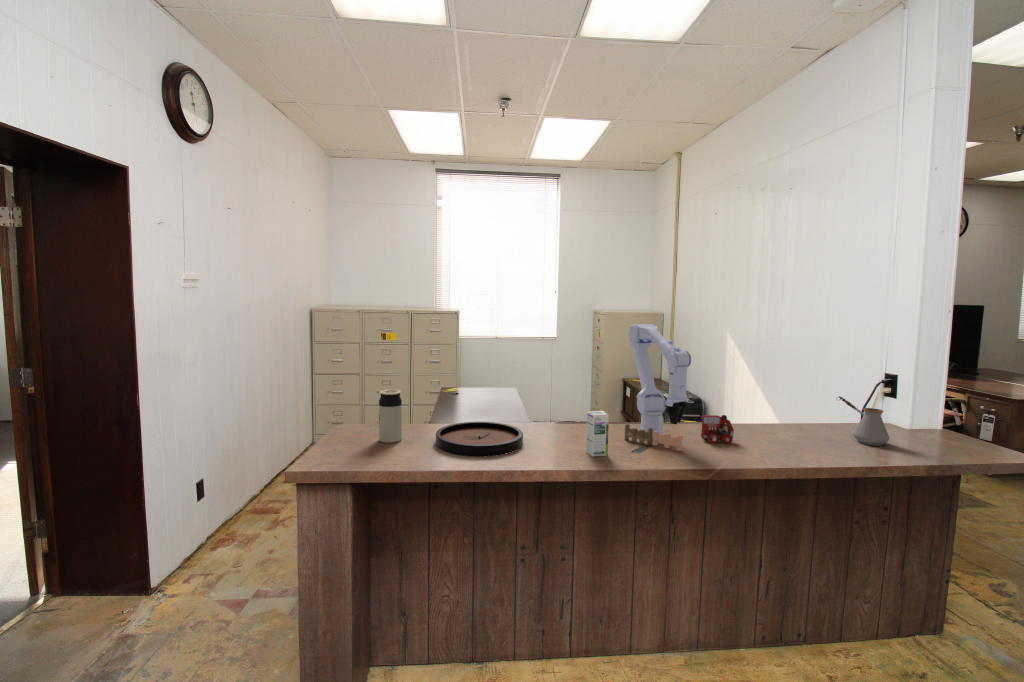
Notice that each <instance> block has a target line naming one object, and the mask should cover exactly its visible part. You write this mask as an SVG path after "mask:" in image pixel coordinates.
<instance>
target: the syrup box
mask: <svg viewBox="0 0 1024 682" xmlns="http://www.w3.org/2000/svg"><path fill="white" fill-rule="evenodd" d="M609 419H610V414H609V413H608V412H606V411H604V410H593V411H587V412H586V426H585V427H586V428H585V429H586V432H585V433H586V437H585V452H586V453H587V454H588V455H589V454H590V455H589V456H591V457H592V458H595V457H605V456H606V457H607V456H608V455H609V429H610V428H609V426H610V425H609V424H610V422H609V421H610V420H609Z"/></svg>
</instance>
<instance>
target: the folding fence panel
mask: <svg viewBox="0 0 1024 682" xmlns="http://www.w3.org/2000/svg"><path fill="white" fill-rule="evenodd" d="M664 434H665V435H664ZM664 434H659V431H653V439H652V446H656V447H657V446H658V445H659V444H661V445H663V446H664V449H670V447H675V450H676V451H678V452H681V451H682V450H683V449H682V448H683V435H679V434H678V435H676V436H673V435H671V433H668V432H666V433H664Z"/></svg>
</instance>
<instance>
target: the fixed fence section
mask: <svg viewBox="0 0 1024 682" xmlns="http://www.w3.org/2000/svg"><path fill="white" fill-rule="evenodd" d="M652 432H653V429H652V428H648V432H647V431H645V430H643V429H641V428H640V429H638V428H637V427H633V428H631V427H630V424H629V423H625V424H624V441H629V440H630V438H631V442H632V443H637V442H638V444H642V445H644V444H645V441H646V446H647V445H650V446H651V445H652V446H653V439H652ZM638 440H639V441H638Z"/></svg>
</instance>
